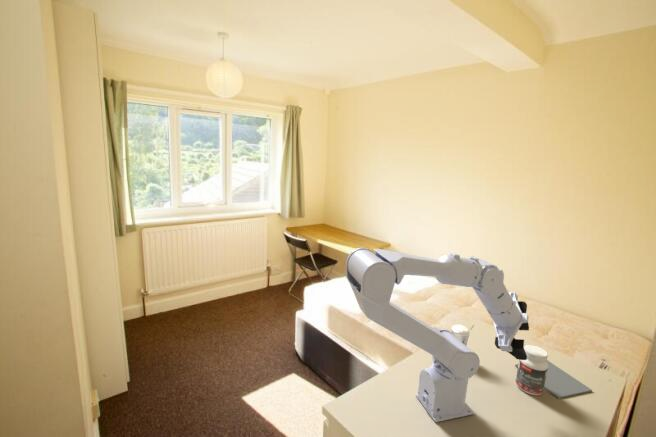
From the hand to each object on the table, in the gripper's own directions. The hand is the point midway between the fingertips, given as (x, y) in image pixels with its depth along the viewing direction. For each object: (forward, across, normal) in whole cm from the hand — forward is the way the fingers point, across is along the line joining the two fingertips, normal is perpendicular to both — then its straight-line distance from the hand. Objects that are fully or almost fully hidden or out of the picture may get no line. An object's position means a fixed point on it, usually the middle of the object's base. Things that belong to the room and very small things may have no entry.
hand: (523, 343), depth 73 cm
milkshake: (+7, -1, +18) cm, 19 cm away
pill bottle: (+12, -4, +3) cm, 13 cm away
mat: (+18, +3, 0) cm, 18 cm away
